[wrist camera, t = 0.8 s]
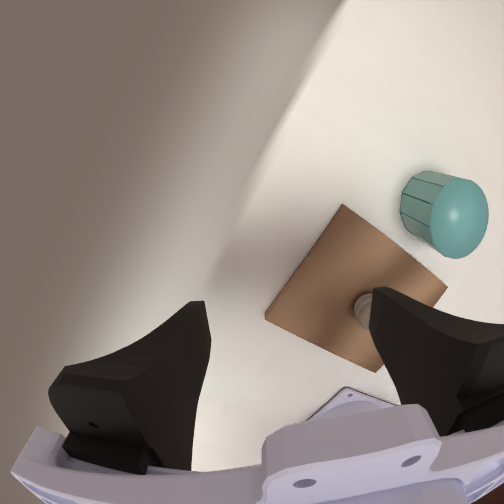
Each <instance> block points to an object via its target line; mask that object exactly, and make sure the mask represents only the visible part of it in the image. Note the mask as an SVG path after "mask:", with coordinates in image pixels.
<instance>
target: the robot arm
mask: <svg viewBox="0 0 504 504" xmlns="http://www.w3.org/2000/svg"><path fill="white" fill-rule="evenodd" d="M368 328H369V331H370V334H371V337H372V340H373V342H374V345H375V347H376V349H377V351H378V353H379V355H380V357H381V359H382V361H383V363H384V365H385V367H386V369H387V370H388V372H389V374H390V376H391V378H392V380H393V382H394V385H395V387H396V390H397V392H398V395H399V398H400V401H401V405H397V406H396V405H393V404H390V403H387V402H384V401H381V400H379V399H376V398H373V397H370V396H368V395H365V394H362V393H360V392H357V391H355V390H352V389H349V388H345V389H343V390H342V391H341V392H340V393H338V394H337V395H336V396H335V397H334V398H333V399H332V400H331V401H330V402H329V403H328V404H326V405H325V406H324V407H323V408H322V409H321V410H320V411H319V412H317V413H316V414H315V415H314V416H313V417H312V418H310V419H309V420H308V421H304V422H300V423H296V424H292V425H287V426H284V427H283V428H281V429H279V430H278V431H276V432H274V433H273V434H271V435H269V436H268V437H266V440H265V442H264V444H263V447H262V464H258V465H252V466H247V467H241V468H234V469H227V470H219V471H211V472H197V471H191V463H192V448H193V437H194V427H195V419H196V411H197V405H198V400H199V396H200V392H201V389H202V385H203V381H204V377H205V374H206V370H207V366H208V362H209V358H210V349H211V335H210V330H209V324H208V319H207V314H206V308H205V302H204V301H190V302H189V303H187V304H186V305H185V306H184V307H182V308H181V309H180V310H179V311H178V312H177V313H175V314H174V315H173V316H171V317H170V318H169V319H168V320H167V321H166V322H164V323H163V324H162V325H160V326H159V327H157V328H156V329H155V330H153V331H152V332H151V333H149V334H148V335H146V336H144V337H143V338H142V339H140V340H138V341H136V342H135V343H133V344H131V345H129V346H127V347H124V348H122V349H120V350H118V351H116V352H114V353H111V354H109V355H106V356H103V357H100V358H97V359H94V360H91V361H87V362H83V363H79V364H75V365H70V366H65V367H64V368H63V370H62V371H61V372H60V374H59V375H58V376H57V378H56V379H55V381H54V382H53V383H52V385H51V386H50V388H49V391H48V395H49V399H50V402H51V404H52V406H53V408H54V409H55V411H56V413H57V414H58V416H59V417H60V418H61V420H62V421H63V423H64V424H65V426H66V427H67V428H68V430H69V431H70V432H69V434H68V436H67V438H66V437H64V436H63V435H61V434H60V433H57V432H55V431H52V430H49V429H46V428H43V427H40V426H37V427H36V429H35V430H34V432H33V434H32V435H31V437H30V439H29V440H28V442H27V443H26V445H25V447H24V449H23V450H22V452H21V454H20V455H19V457H18V459H17V461H16V462H15V464H14V466H13V468H12V470H11V474H12V475H13V476H14V477H15V478H16V479H18V480H19V481H20V482H21V483H22V484H23V485H24V486H25V487H27V488H28V489H29V490H30V491H31V492H32V493H34V494H35V495H36V496H37V497H38V498H40V499H41V500H42V501H43V502H45V503H46V504H470V503H472V502H474V501H476V500H477V499H479V498H480V497H482V496H484V495H485V494H487V493H488V492H490V491H491V490H493V489H494V488H496V487H497V486H499V485H500V484H502V483H503V482H504V324H493V323H485V322H478V321H473V320H469V319H464V318H461V317H457V316H454V315H451V314H448V313H445V312H442V311H439V310H437V309H435V308H432V307H430V306H427V305H425V304H423V303H421V302H419V301H417V300H415V299H413V298H411V297H409V296H407V295H405V294H403V293H401V292H399V291H396V290H394V289H392V288H389V287H386V286H383V287H374V288H373V292H372V302H371V311H370V319H369V326H368Z"/></svg>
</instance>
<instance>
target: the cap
mask: <svg viewBox="0 0 504 504" xmlns="http://www.w3.org/2000/svg"><path fill="white" fill-rule="evenodd" d="M402 193H404V194H402V198H401V207H400V211H401V212H400V213H401V216H402V219H403V222H404V225H405V228H406V229H407V230H408V231H409V232H411V233H412V234H413V235H414V236H415V237H416V238H418V239H419V240H421V241H423V242H424V243H426V244H427V245H429V246H430V247H432V248H433V249H435V250H436V251H438V252H439V253H441V254H442V255H443V256H445V257H449V258H454V259H458V258H463V257H465V256H467V255H469V254H470V253H472V252H473V251H474V250H475V249H476V248H477V246H478V245H479V244H480V242H481V241H482V239H483V237H484V234H485V232H486V229H487V224H488V216H489V212H488V203H487V199H486V197H485V194H484V193H483V191H482V189H481V188H480V187H479V186H478V185H477V184H476V183H474V182H473V181H472V180H467V179H463V178H459V177H455V176H450V175H445V174H441V173H436V172H430V171H424V172H422V173H420V174H418V175H416V176H414V177H412V178H411V180H410V181H409V183H408V184H407V186H406V188H405V189H404V191H403V192H402Z"/></svg>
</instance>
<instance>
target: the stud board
mask: <svg viewBox="0 0 504 504" xmlns="http://www.w3.org/2000/svg"><path fill="white" fill-rule="evenodd" d="M383 286H386V287H389V288H392V289H394V290H396V291H399V292H401V293H403V294H405V295H407V296H409V297H411V298H413V299H415V300H417V301H419V302H421V303H423V304H425V305H427V306H430V307H432V308H433V307H434V305H435V304H436V303H437V301H438V300H439V299H440V297H441V296H442V295H443V293H444V292H445V291H446V289H447V288H448V287H447V286H446V285H445V284H444V283H443V282H441V281H440V280H439V279H438V278H437V277H436V276H435V275H433V274H432V273H431V272H430V271H429V270H427V269H426V268H425V267H424V266H423V265H422V264H420V263H419V262H418V261H417V260H416V259H414V258H413V257H412V256H411V255H409V254H408V253H407V252H406V251H404V250H403V249H402V248H401V247H399V246H398V245H397V244H396V243H394V242H393V241H392V240H391V239H389V238H388V237H387V236H385V235H384V234H383V233H381V232H380V231H379V230H377V229H376V228H375V227H374V226H372V225H371V224H370V223H368V222H367V221H365V220H364V219H363V218H361V217H360V216H359V215H357V214H356V213H355V212H353V211H352V210H350V209H349V208H348V207H346V206H345V205H343V204H342V205H341V207H340V208H339V210H338V211H337V213H336V214H335V216H334V217H333V219H332V220H331V222H330V223H329V224H328V226H327V227H326V229H325V230H324V232H323V233H322V235H321V236H320V238H319V239H318V240H317V242H316V243H315V245H314V246H313V248H312V249H311V251H310V252H309V253H308V255H307V256H306V258H305V259H304V260H303V262H302V263H301V265H300V266H299V267H298V269H297V270H296V272H295V273H294V274H293V276H292V277H291V279H290V280H289V281H288V283H287V284H286V286H285V287H284V288H283V290H282V291H281V292H280V294H279V295H278V297H277V298H276V299H275V301H274V302H273V303H272V305H271V306H270V307H269V309H268V310H267V311H266V313H265V320H267V321H269V322H271V323H273V324H275V325H277V326H279V327H281V328H283V329H285V330H287V331H289V332H291V333H293V334H294V335H296V336H298V337H301V338H303V339H305V340H307V341H309V342H311V343H313V344H315V345H317V346H319V347H321V348H323V349H325V350H327V351H329V352H331V353H333V354H335V355H338V356H340V357H342V358H344V359H346V360H348V361H350V362H353V363H355V364H357V365H359V366H361V367H363V368H366V369H368V370H370V371H372V372H375V373H376V372H377V371H378V370H379V369H380V368H381V367H382V366H383V365H384V363H383V361H382V359H381V357H380V355H379V353H378V351H377V349H376V347H375V345H374V342H373V340H372V337H371V334H370V331H369V328H368V326H369V319H370V311H371V302H372V292H373V288H374V287H383Z"/></svg>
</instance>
